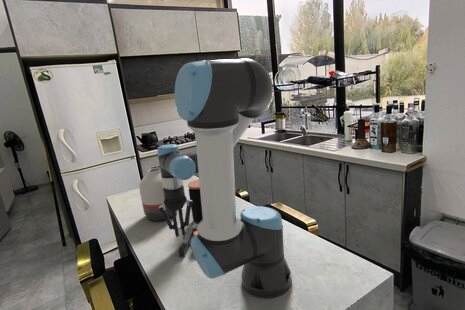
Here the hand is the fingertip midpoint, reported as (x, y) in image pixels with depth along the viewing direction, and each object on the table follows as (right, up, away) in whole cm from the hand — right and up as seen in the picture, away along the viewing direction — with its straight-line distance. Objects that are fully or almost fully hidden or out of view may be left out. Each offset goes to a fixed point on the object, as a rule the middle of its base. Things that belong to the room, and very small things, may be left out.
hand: (181, 243), depth 109 cm
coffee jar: (+7, +4, +20) cm, 22 cm away
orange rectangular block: (+8, +2, -2) cm, 9 cm away
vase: (-14, +4, +29) cm, 33 cm away
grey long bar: (+4, 0, +3) cm, 5 cm away
